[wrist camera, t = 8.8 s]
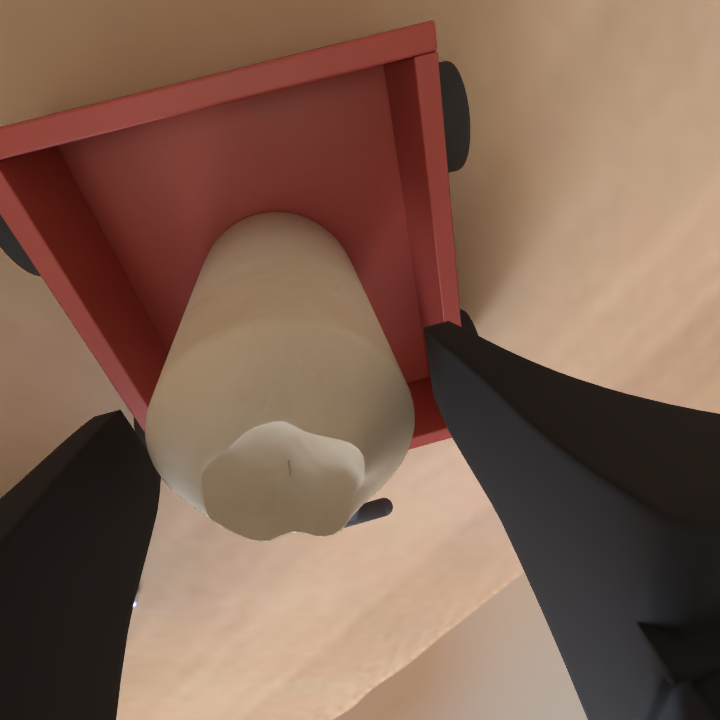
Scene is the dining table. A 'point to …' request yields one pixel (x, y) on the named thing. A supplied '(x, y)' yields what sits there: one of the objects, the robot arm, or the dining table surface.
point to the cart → (243, 197)
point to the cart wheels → (456, 157)
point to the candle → (279, 386)
